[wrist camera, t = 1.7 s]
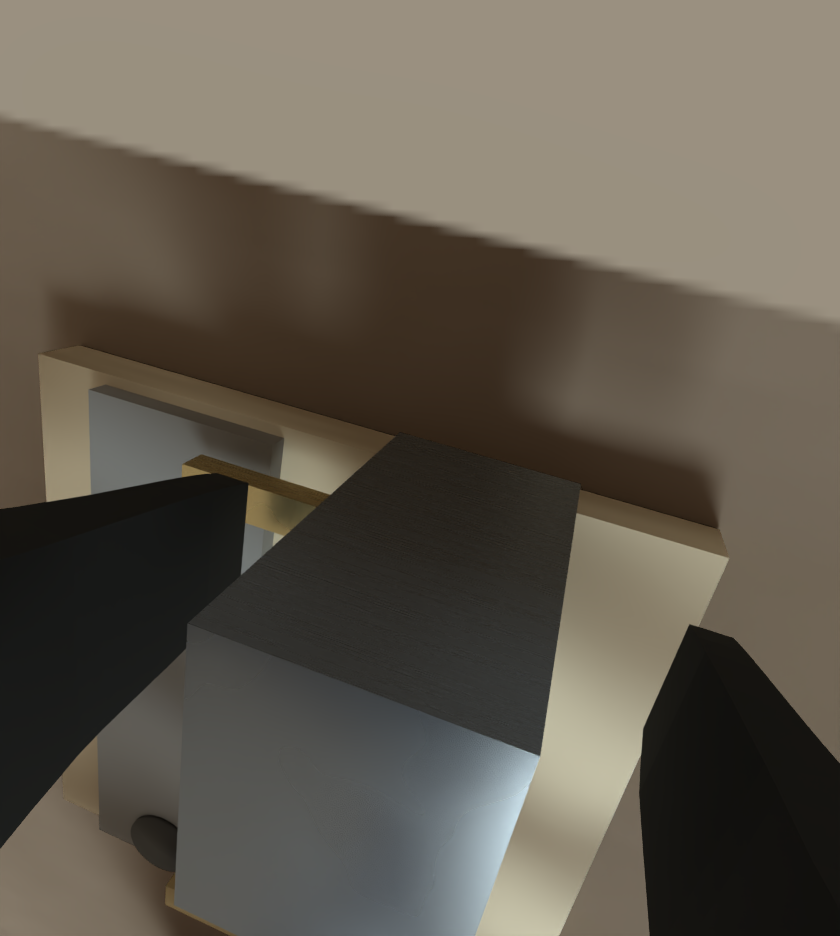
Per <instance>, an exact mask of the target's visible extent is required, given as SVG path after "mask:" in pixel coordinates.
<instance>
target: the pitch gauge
mask: <svg viewBox="0 0 840 936" xmlns="http://www.w3.org/2000/svg"><path fill="white" fill-rule="evenodd" d="M38 361H39V379H40V396H41V414H42V431H43V448H44V466H45V483H46V501H47V502H50V501H56V500H62V499H68V498H74V497H80V496H86V495H92V494H97V493H102V492H107V491H112V490H117V489H122V488H127V487H133V486H138V485H143V484H148V483H153V482H158V481H163V480H169V479H174V478H180V477H182V464H183V463H185V462H187V461H189V460H191V459H193V458H195V457H197V456H199V455H201V454H202V455H206V456H209V457H212V458H215V459H218V460H222V461H225V462H228V463H231V464H234V465H237V466H241V467H244V468H247V469H250V470H253V471H256V472H260V473H263V474H266V475H269V476H272V477H276V478H279V479H282V480H285V481H288V482H291V483H295V484H298V485H301V486H304V487H307V488H311V489H314V490H317V491H320V492H323V493H326V494H330V495H331V494H332V493H333V492H334V491H335V490H336V489H337V488H338V487H340V486H341V485H342V484H343V483H344V482H345V481H346V480H347V479H348V478H350V477H351V476H352V475H353V474H354V473H355V472H356V471H357V470H358V469H360V468H361V467H362V466H363V465H364V464H365V463H366V462H367V461H368V460H370V459H371V458H372V457H373V456H374V455H375V454H376V453H377V452H378V451H380V450H381V449H382V448H383V447H384V446H385V445H386V444H387V443H388V442H390V441H391V440H392V439H393V438H394V437H395V436H393V435H389V434H386V433H382V432H379V431H375V430H372V429H368V428H365V427H361V426H358V425H354V424H351V423H347V422H344V421H341V420H337V419H334V418H330V417H327V416H323V415H320V414H316V413H313V412H309V411H306V410H302V409H299V408H295V407H292V406H288V405H285V404H282V403H278V402H275V401H271V400H268V399H264V398H261V397H257V396H254V395H250V394H247V393H243V392H240V391H236V390H233V389H229V388H226V387H223V386H219V385H216V384H212V383H209V382H205V381H202V380H198V379H195V378H191V377H188V376H184V375H181V374H177V373H174V372H170V371H167V370H164V369H160V368H157V367H153V366H150V365H146V364H143V363H139V362H136V361H132V360H129V359H125V358H122V357H118V356H115V355H111V354H108V353H105V352H101V351H98V350H94V349H91V348H87V347H84V346H80V345H78V346H73V347H68V348H63V349H59V350H54V351H49V352H44V353H39V354H38ZM283 537H284V536H283V535H280V534H277V533H274V532H271V531H268V530H265V529H262V528H259V527H256V526H253V525H250V524H247V523H245V532H244V544H243V556H242V567H241V575H242V574H243V573H244V572H245V571H246V570H247V569H248V568H250V567H251V566H252V565H253V564H254V563H255V562H256V561H257V560H258V559H260V558H261V557H262V556H263V555H264V554H265V553H266V552H267V551H268V550H270V549H271V548H272V547H273V546H274V545H275V544H276V543H277V542H278V541H280V540H281V539H282V538H283ZM728 560H729V556H728V553H727V550H726V547H725V544H724V541H723V538H722V536H721V533H720V530H719V529H715V528H712V527H708V526H705V525H701V524H698V523H694V522H691V521H688V520H684V519H681V518H677V517H674V516H670V515H667V514H663V513H660V512H656V511H653V510H649V509H646V508H642V507H639V506H635V505H632V504H629V503H625V502H622V501H618V500H615V499H611V498H608V497H604V496H601V495H597V494H594V493H590V492H587V491H583V490H580V494H579V500H578V507H577V514H576V520H575V527H574V534H573V541H572V547H571V554H570V561H569V567H568V574H567V581H566V587H565V594H564V601H563V608H562V614H561V621H560V628H559V634H558V641H557V648H556V654H555V661H554V668H553V674H552V681H551V688H550V695H549V701H548V708H547V715H546V721H545V728H544V735H543V741H542V748H541V755H540V759H539V761H538V764H537V767H536V770H535V772H534V775H533V778H532V781H531V783H530V786H529V789H528V792H527V794H526V797H525V800H524V803H523V805H522V808H521V811H520V814H519V816H518V819H517V822H516V825H515V827H514V830H513V833H512V836H511V838H510V841H509V844H508V847H507V849H506V852H505V855H504V858H503V860H502V863H501V866H500V869H499V871H498V874H497V877H496V880H495V882H494V885H493V888H492V891H491V893H490V896H489V899H488V902H487V904H486V907H485V910H484V913H483V915H482V918H481V921H480V924H479V926H478V929H477V932H476V935H475V936H559V935H560V932H561V930H562V928H563V926H564V924H565V921H566V919H567V917H568V915H569V912H570V910H571V908H572V906H573V904H574V901H575V899H576V897H577V895H578V892H579V890H580V888H581V886H582V884H583V881H584V879H585V877H586V875H587V873H588V870H589V868H590V866H591V864H592V861H593V859H594V857H595V855H596V853H597V850H598V848H599V846H600V844H601V842H602V839H603V837H604V835H605V833H606V830H607V828H608V826H609V824H610V822H611V819H612V817H613V815H614V813H615V810H616V808H617V806H618V804H619V802H620V799H621V797H622V795H623V793H624V791H625V788H626V786H627V784H628V782H629V779H630V777H631V775H632V773H633V771H634V768H635V766H636V764H637V762H638V759H639V757H640V755H641V751H642V737H643V727H644V725H645V723H646V721H647V718H648V716H649V714H650V712H651V709H652V707H653V705H654V703H655V700H656V698H657V696H658V694H659V691H660V689H661V687H662V685H663V682H664V680H665V678H666V676H667V673H668V671H669V669H670V667H671V664H672V662H673V660H674V658H675V655H676V653H677V651H678V649H679V646H680V644H681V642H682V640H683V637H684V635H685V633H686V631H687V628H688V626H689V624H691V625H694V626H697V627H699V624H700V622H701V620H702V618H703V615H704V613H705V611H706V609H707V607H708V604H709V602H710V600H711V598H712V595H713V593H714V591H715V589H716V587H717V584H718V582H719V580H720V578H721V576H722V573H723V571H724V569H725V567H726V564H727V562H728ZM185 664H186V649H185V650H184V651H183V652H182V653H181V654H180V655H179V656H178V657H177V658H176V659H175V660H174V661H173V662H172V663H171V664H170V665H169V666H168V667H167V668H166V669H165V670H164V671H163V672H162V673H161V674H160V675H159V676H158V677H157V678H156V679H154V680H153V681H152V682H151V683H150V684H149V685H148V686H147V687H146V688H145V689H144V690H143V691H142V692H141V693H140V694H139V695H138V696H137V697H136V698H135V699H134V700H133V701H132V702H131V703H130V704H129V705H128V706H126V707H125V708H124V709H123V710H122V711H121V712H120V713H119V714H118V715H117V716H116V717H115V718H114V719H113V720H112V721H111V722H110V723H109V724H108V725H107V726H106V727H105V728H104V729H103V730H102V731H101V732H100V733H99V734H98V735H97V736H96V737H95V738H94V739H93V740H92V741H91V742H90V743H89V744H88V745H87V746H86V748H85V749H84V750H83V751H82V752H81V753H80V754H79V755H78V756H77V757H76V759H75V760H74V761H73V762H72V763H71V764H70V766H69V767H68V768H67V769H66V770H65V771H64V773H63V774H62V779H63V796H64V800H67V801H69V802H71V803H73V804H75V805H78V806H80V807H82V808H84V809H86V810H88V811H91V812H93V813H95V814H97V815H99V829H100V830H102V831H104V832H106V833H108V834H110V835H112V836H114V837H117V838H119V839H121V840H123V841H125V842H127V843H129V844H132V845H134V846H135V847H136V849H137V850H138V851H139V853H140V854H141V855H142V856H143V857H144V858H145V859H146V860H148V861H149V862H150V863H152V864H153V865H155V866H157V867H158V868H161V869H163V870H166V871H170V872H175V873H176V852H177V831H178V810H179V789H180V768H181V747H182V726H183V705H184V685H185ZM175 873H174V875H173V876H172V878H171V879H170V881H169V882H168V883H167V885H166V894H165V905H167V906H169V907H171V908H173V909H175V910H177V911H180V912H182V913H184V914H186V915H188V916H190V917H192V918H194V919H196V920H198V921H200V922H202V923H204V924H207V925H209V926H211V927H213V928H215V929H217V930H219V931H221V932H223V933H225V934H227V935H229V936H237V935H235V934H233V933H231V932H229V931H227V930H225V929H223V928H221V927H219V926H216V925H214V924H212V923H210V922H208V921H206V920H204V919H202V918H200V917H198V916H196V915H194V914H192V913H189V912H187V911H185V910H183V909H181V908H179V907H177V906H175V905H174V893H175Z"/></svg>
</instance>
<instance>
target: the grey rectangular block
mask: <svg viewBox="0 0 840 936" xmlns="http://www.w3.org/2000/svg"><path fill="white" fill-rule="evenodd" d="M211 473H218V474H222V475H225V476H228V477H231V478H234V479H237V480H240V481H243V482H247V483H249V485H248V497H247V509H246V520H245V523H247V524H250V525H253V526H256V527H259V528H262V529H265V530H268V531H271V532H274V533H277V534H280V535H283V536H284V537H283V538H282V539H281V540H280V541H278V542H277V543H276V544H275V545H274V546H273V547H272V548H271V549H270V550H268V551H267V552H266V553H265V554H264V555H263V556H262V557H261V558H260V559H258V560H257V561H256V562H255V563H254V564H253V565H252V566H251V567H250V568H248V569H247V570H246V571H245V572H244V573H243V574H242V575H241V576H240V577H238V578H237V579H236V580H235V581H234V582H233V583H232V584H231V585H230V586H228V587H227V588H226V589H225V590H224V591H223V592H222V593H221V594H220V595H218V596H217V597H216V598H215V599H214V600H213V601H212V602H211V603H210V604H209V605H207V606H206V607H205V608H204V609H203V610H202V611H201V612H200V613H199V614H197V615H196V616H195V617H194V618H193V619H192V620H191V621H190V622H189V623H187V643H186V664H185V685H184V705H183V726H182V747H181V768H180V789H179V810H178V831H177V852H176V873H175V893H174V905H175V906H177V907H179V908H181V909H183V910H185V911H187V912H189V913H192V914H194V915H196V916H198V917H200V918H202V919H204V920H206V921H208V922H210V923H212V924H214V925H216V926H219V927H221V928H223V929H225V930H227V931H229V932H231V933H233V934H235V935H237V936H475V935H476V932H477V929H478V926H479V924H480V921H481V918H482V915H483V913H484V910H485V907H486V904H487V902H488V899H489V896H490V893H491V891H492V888H493V885H494V882H495V880H496V877H497V874H498V871H499V869H500V866H501V863H502V860H503V858H504V855H505V852H506V849H507V847H508V844H509V841H510V838H511V836H512V833H513V830H514V827H515V825H516V822H517V819H518V816H519V814H520V811H521V808H522V805H523V803H524V800H525V797H526V794H527V792H528V789H529V786H530V783H531V781H532V778H533V775H534V772H535V770H536V767H537V764H538V761H539V759H540V755H541V748H542V741H543V735H544V728H545V721H546V715H547V708H548V701H549V695H550V688H551V681H552V674H553V668H554V661H555V654H556V648H557V641H558V634H559V628H560V621H561V614H562V608H563V601H564V594H565V587H566V581H567V574H568V567H569V561H570V554H571V547H572V541H573V534H574V527H575V520H576V514H577V507H578V500H579V494H580V487H581V484H579V483H576V482H572V481H569V480H565V479H562V478H558V477H555V476H551V475H548V474H544V473H541V472H537V471H534V470H530V469H527V468H523V467H520V466H516V465H513V464H509V463H506V462H502V461H499V460H495V459H492V458H488V457H485V456H481V455H478V454H474V453H471V452H467V451H464V450H460V449H457V448H453V447H450V446H446V445H443V444H439V443H436V442H432V441H429V440H425V439H422V438H418V437H415V436H411V435H408V434H404V433H401V432H400V433H398V434H397V435H396V436H395V437H394V438H393V439H392V440H391V441H390V442H388V443H387V444H386V445H385V446H384V447H383V448H382V449H381V450H380V451H378V452H377V453H376V454H375V455H374V456H373V457H372V458H371V459H370V460H368V461H367V462H366V463H365V464H364V465H363V466H362V467H361V468H360V469H358V470H357V471H356V472H355V473H354V474H353V475H352V476H351V477H350V478H348V479H347V480H346V481H345V482H344V483H343V484H342V485H341V486H340V487H338V488H337V489H336V490H335V491H334V492H333V493H332V494H331V495H330V494H326V493H323V492H320V491H317V490H314V489H311V488H307V487H304V486H301V485H298V484H295V483H291V482H288V481H285V480H282V479H279V478H276V477H272V476H269V475H266V474H263V473H260V472H256V471H253V470H250V469H247V468H244V467H241V466H237V465H234V464H231V463H228V462H225V461H222V460H218V459H215V458H212V457H209V456H206V455H202V454H201V455H199V456H197V457H195V458H193V459H191V460H189V461H187V462H185V463H183V464H182V477H186V476H193V475H200V474H211Z"/></svg>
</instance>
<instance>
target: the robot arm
mask: <svg viewBox="0 0 840 936" xmlns="http://www.w3.org/2000/svg"><path fill="white" fill-rule="evenodd" d="M248 485H249V483H247V482H243V481H240V480H237V479H234V478H231V477H228V476H225V475H222V474H218V473H211V474H200V475H193V476H186V477H180V478H174V479H169V480H163V481H158V482H153V483H148V484H143V485H138V486H133V487H127V488H122V489H117V490H112V491H107V492H102V493H97V494H92V495H86V496H80V497H74V498H68V499H62V500H56V501H50V502H44V503H38V504H32V505H26V506H20V507H13V508H6V509H0V848H1V847H2V846H3V845H4V843H5V842H6V841H7V840H8V838H9V837H10V836H11V835H12V834H13V832H14V831H15V830H16V829H17V827H18V826H19V825H20V824H21V822H22V821H23V820H24V819H25V817H26V816H27V815H28V814H29V813H30V811H31V810H32V809H33V808H34V807H35V805H36V804H37V803H38V802H39V801H40V800H41V798H42V797H43V796H44V795H45V794H46V792H47V791H48V790H49V789H50V788H51V787H52V785H53V784H54V783H55V782H56V781H57V780H58V778H59V777H60V776H61V775H62V774H63V773H64V771H65V770H66V769H67V768H68V767H69V766H70V764H71V763H72V762H73V761H74V760H75V759H76V757H77V756H78V755H79V754H80V753H81V752H82V751H83V750H84V749H85V748H86V746H87V745H88V744H89V743H90V742H91V741H92V740H93V739H94V738H95V737H96V736H97V735H98V734H99V733H100V732H101V731H102V730H103V729H104V728H105V727H106V726H107V725H108V724H109V723H110V722H111V721H112V720H113V719H114V718H115V717H116V716H117V715H118V714H119V713H120V712H121V711H122V710H123V709H124V708H125V707H126V706H128V705H129V704H130V703H131V702H132V701H133V700H134V699H135V698H136V697H137V696H138V695H139V694H140V693H141V692H142V691H143V690H144V689H145V688H146V687H147V686H148V685H149V684H150V683H151V682H152V681H153V680H154V679H156V678H157V677H158V676H159V675H160V674H161V673H162V672H163V671H164V670H165V669H166V668H167V667H168V666H169V665H170V664H171V663H172V662H173V661H174V660H175V659H176V658H177V657H178V656H179V655H180V654H181V653H182V652H183V651H184V650H185V649H186V643H187V623H189V622H190V621H191V620H192V619H193V618H194V617H195V616H196V615H197V614H199V613H200V612H201V611H202V610H203V609H204V608H205V607H206V606H207V605H209V604H210V603H211V602H212V601H213V600H214V599H215V598H216V597H217V596H218V595H220V594H221V593H222V592H223V591H224V590H225V589H226V588H227V587H228V586H230V585H231V584H232V583H233V582H234V581H235V580H236V579H237V578H238V577H240V576H241V567H242V556H243V544H244V532H245V520H246V509H247V497H248ZM639 796H640V812H641V826H642V841H643V854H644V867H645V880H646V893H647V906H648V919H649V932H650V936H840V763H839V762H838V761H837V760H836V759H835V758H834V756H833V755H832V754H831V753H830V752H829V751H828V749H827V748H826V747H825V746H824V745H823V744H822V742H821V741H820V740H819V739H818V738H817V737H816V735H815V734H814V733H813V732H812V731H811V729H810V728H809V727H808V726H807V725H806V723H805V722H804V721H803V720H802V719H801V717H800V716H799V715H798V714H797V713H796V711H795V710H794V709H793V708H792V707H791V705H790V704H789V703H788V702H787V700H786V699H785V698H784V697H783V696H782V694H781V693H780V692H779V691H778V689H777V688H776V687H775V686H774V685H773V683H772V682H771V681H770V680H769V678H768V677H767V676H766V675H765V674H764V672H763V671H762V670H761V669H760V668H759V666H758V665H757V664H756V663H755V662H754V660H753V659H752V658H751V657H750V656H749V654H748V653H747V652H746V651H745V650H744V649H743V648H742V647H741V646H740V644H739V643H738V642H737V641H736V640H735V639H734V638H732V637H729V636H725V635H722V634H719V633H716V632H713V631H710V630H707V629H703V628H700V627H697V626H694V625H691V624H689V626H688V628H687V631H686V633H685V635H684V637H683V640H682V642H681V644H680V646H679V649H678V651H677V653H676V655H675V658H674V660H673V662H672V664H671V667H670V669H669V671H668V673H667V676H666V678H665V680H664V682H663V685H662V687H661V689H660V691H659V694H658V696H657V698H656V700H655V703H654V705H653V707H652V709H651V712H650V714H649V716H648V718H647V721H646V723H645V725H644V727H643V737H642V751H641V767H640V789H639Z"/></svg>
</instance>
